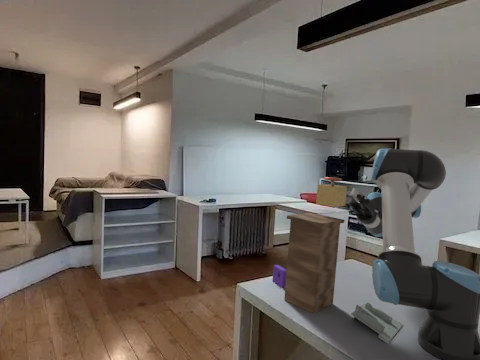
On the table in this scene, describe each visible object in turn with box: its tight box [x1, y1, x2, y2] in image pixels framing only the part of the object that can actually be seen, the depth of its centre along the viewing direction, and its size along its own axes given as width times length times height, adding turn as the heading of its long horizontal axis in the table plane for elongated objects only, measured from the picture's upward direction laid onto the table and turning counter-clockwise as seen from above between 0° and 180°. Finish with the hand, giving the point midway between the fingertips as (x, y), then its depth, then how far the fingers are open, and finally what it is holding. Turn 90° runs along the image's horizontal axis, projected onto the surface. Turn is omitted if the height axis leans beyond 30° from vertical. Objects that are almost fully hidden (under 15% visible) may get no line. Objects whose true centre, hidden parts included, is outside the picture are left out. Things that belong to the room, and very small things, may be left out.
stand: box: [283, 212, 345, 314], centre depth 113 cm, size 14×14×30 cm
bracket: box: [272, 264, 287, 289], centre depth 131 cm, size 12×7×7 cm, turn 117°
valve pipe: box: [315, 176, 364, 208], centre depth 123 cm, size 24×7×10 cm, turn 133°
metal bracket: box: [350, 302, 405, 345], centre depth 100 cm, size 14×6×15 cm
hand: (346, 190), depth 124 cm, fingers closed on valve pipe, 4 cm apart
